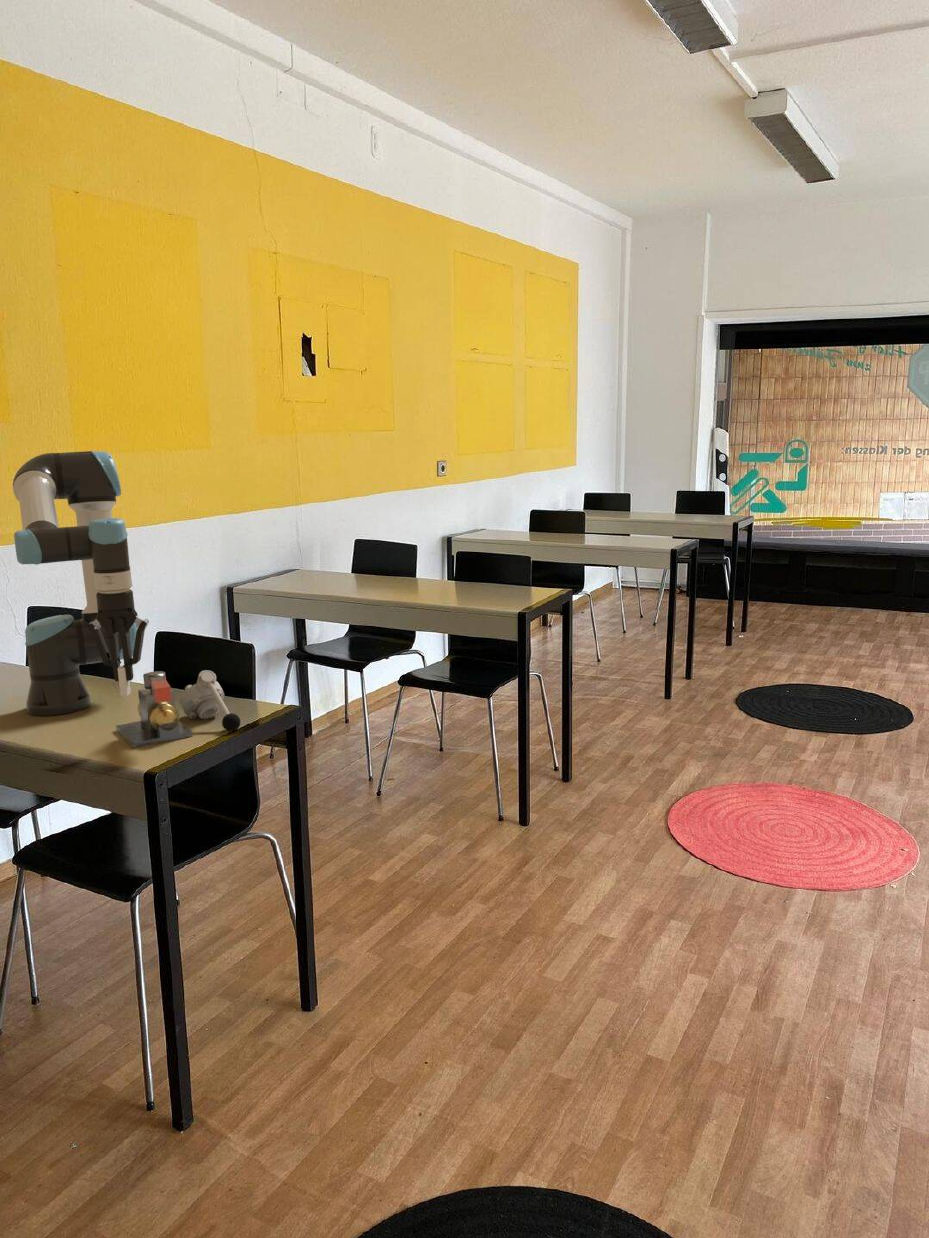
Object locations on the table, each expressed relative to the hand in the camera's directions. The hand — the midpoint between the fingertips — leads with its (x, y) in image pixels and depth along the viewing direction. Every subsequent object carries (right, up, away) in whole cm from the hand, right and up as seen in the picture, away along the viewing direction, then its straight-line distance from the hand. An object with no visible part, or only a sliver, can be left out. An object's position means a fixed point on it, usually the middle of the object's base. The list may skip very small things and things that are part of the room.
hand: (125, 694), depth 208 cm
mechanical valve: (+16, -8, +17) cm, 24 cm away
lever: (+6, 0, +3) cm, 7 cm away
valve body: (+3, -10, +9) cm, 14 cm away
